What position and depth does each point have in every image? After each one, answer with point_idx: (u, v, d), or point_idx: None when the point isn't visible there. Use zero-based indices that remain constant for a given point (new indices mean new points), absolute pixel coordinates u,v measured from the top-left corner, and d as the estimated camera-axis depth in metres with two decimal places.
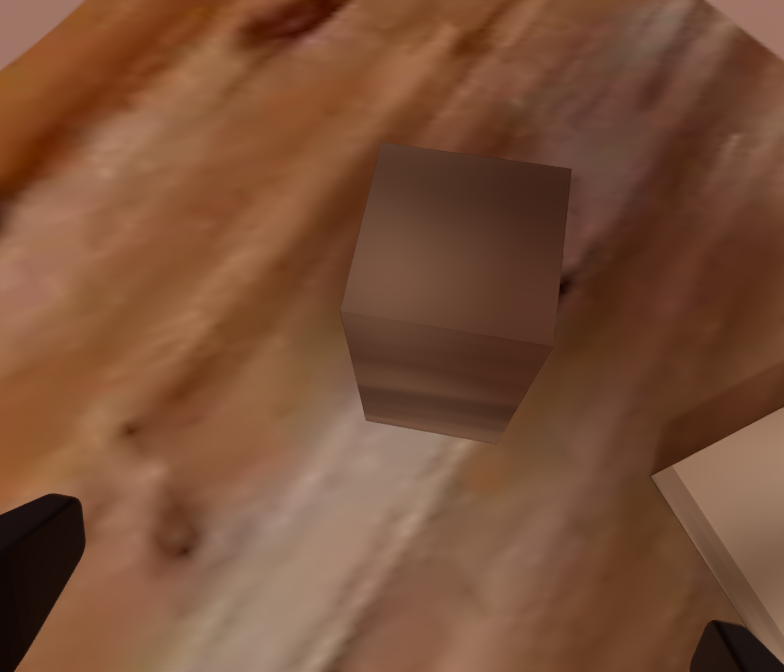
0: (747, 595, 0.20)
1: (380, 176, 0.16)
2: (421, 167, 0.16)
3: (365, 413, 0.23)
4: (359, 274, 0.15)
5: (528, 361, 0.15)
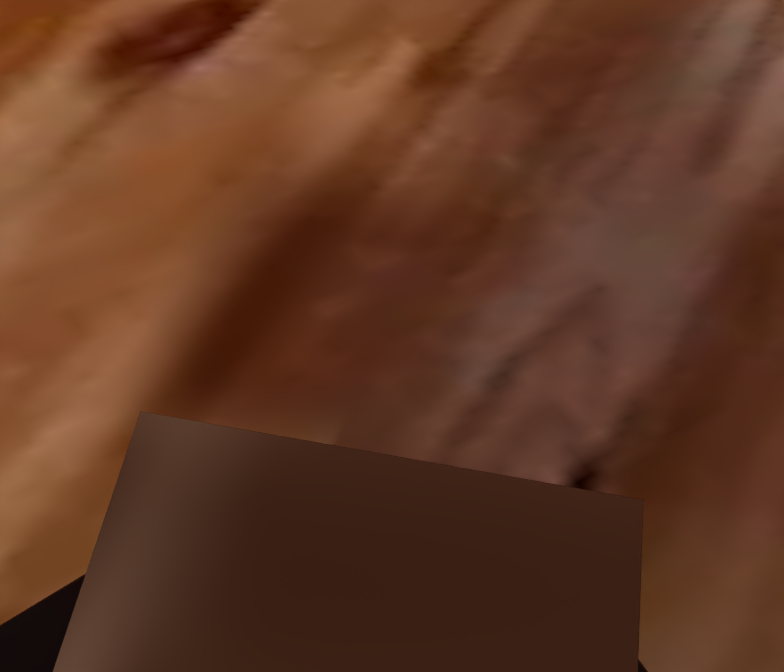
0: None
1: (122, 523, 0.06)
2: (236, 493, 0.06)
3: None
4: None
5: None
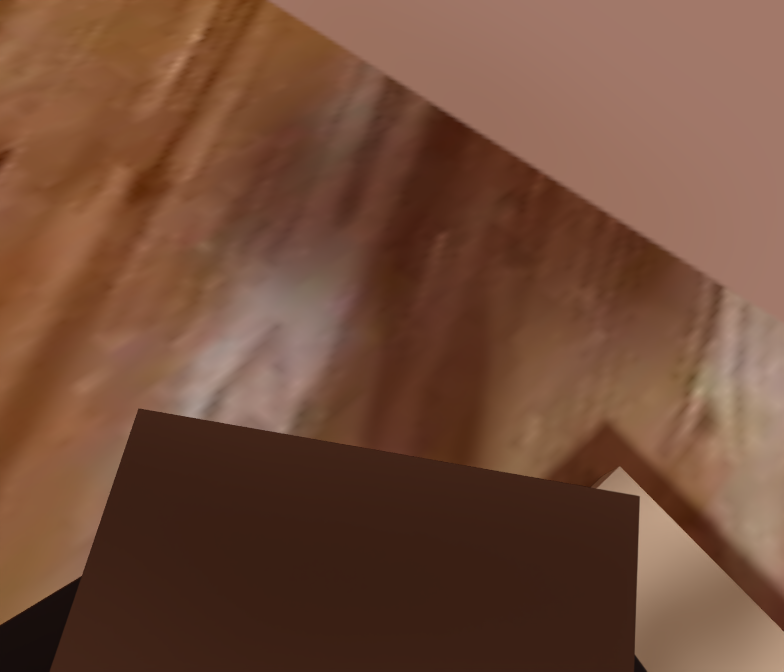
0: None
1: (120, 520, 0.06)
2: (234, 490, 0.06)
3: None
4: None
5: None
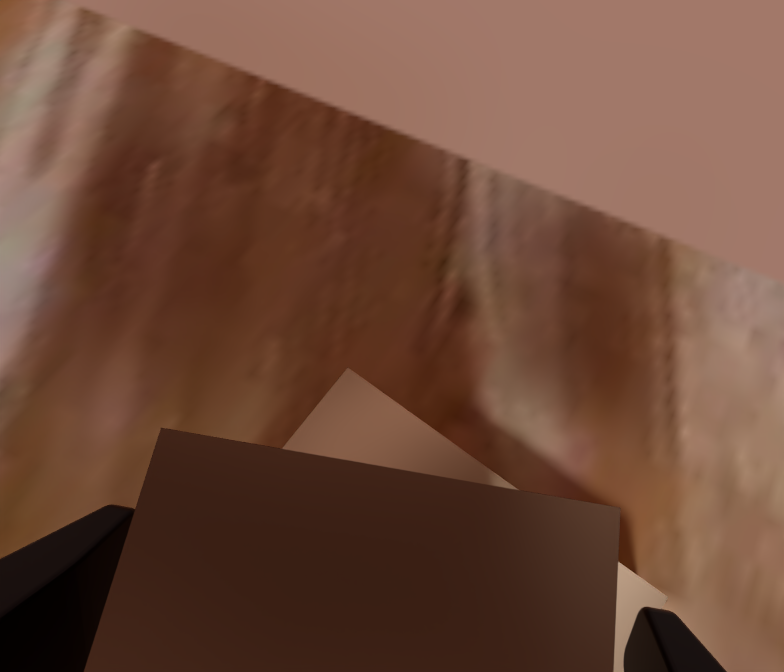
0: None
1: (146, 531, 0.07)
2: (250, 503, 0.07)
3: None
4: None
5: None
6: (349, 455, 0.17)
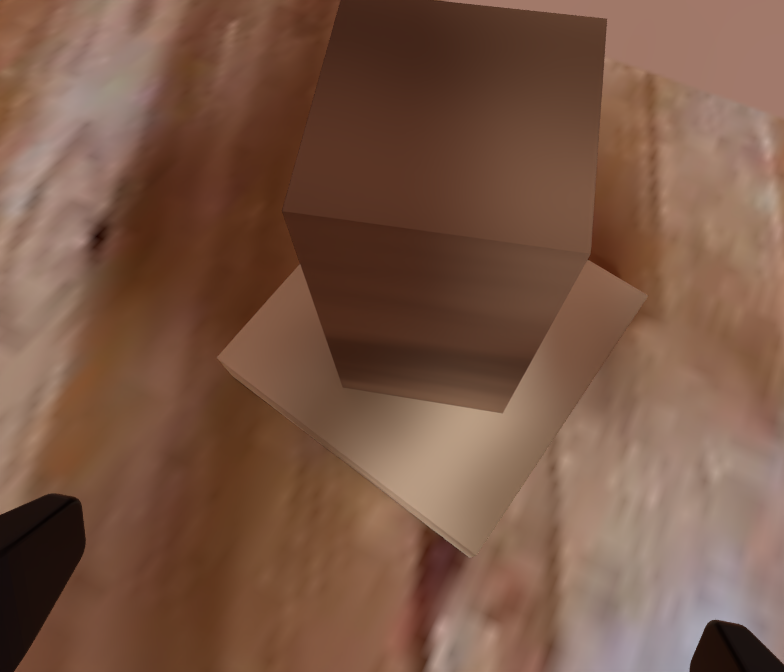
0: (326, 443, 0.20)
1: (341, 33, 0.12)
2: (398, 21, 0.12)
3: (340, 377, 0.19)
4: (310, 161, 0.11)
5: (551, 284, 0.11)
6: None
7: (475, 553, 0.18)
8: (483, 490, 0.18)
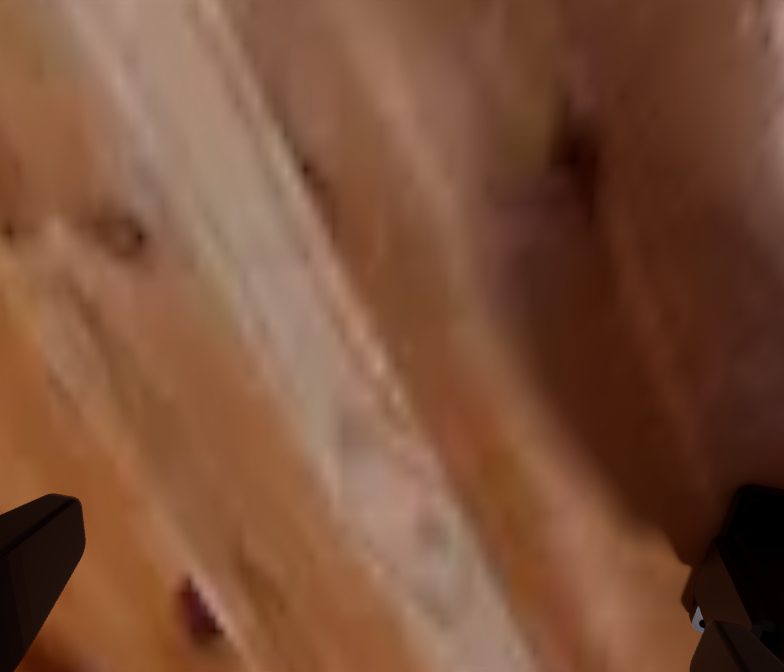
0: None
1: None
2: None
3: None
4: None
5: None
6: None
7: None
8: None
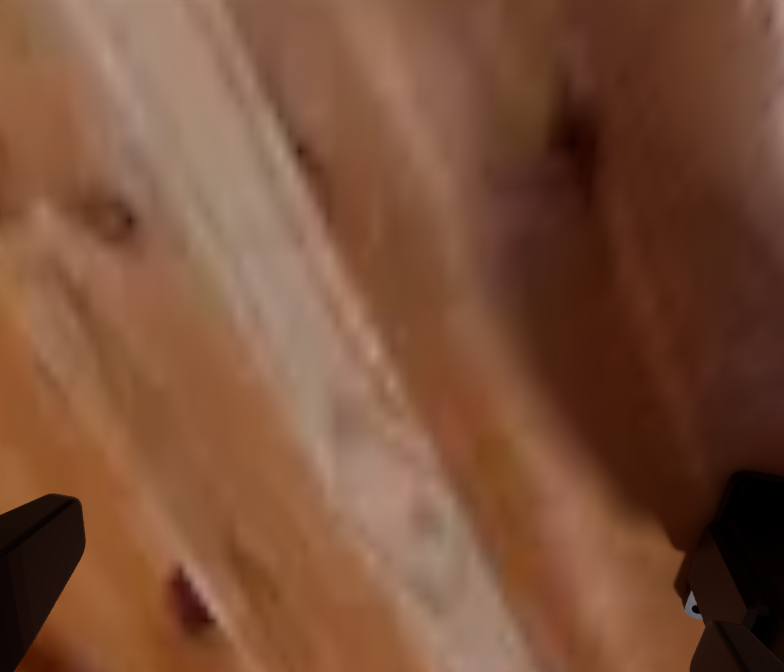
0: None
1: None
2: None
3: None
4: None
5: None
6: None
7: None
8: None
